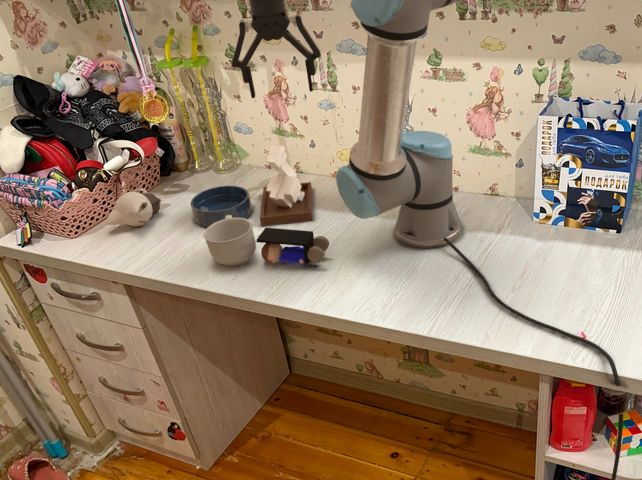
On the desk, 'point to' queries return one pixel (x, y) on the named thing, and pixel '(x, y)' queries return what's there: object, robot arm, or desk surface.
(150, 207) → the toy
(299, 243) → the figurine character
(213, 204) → the bowl
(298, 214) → the tray
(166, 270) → the desk surface
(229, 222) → the teacup
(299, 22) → the robot arm
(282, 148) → the beige irregular angular piece
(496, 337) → the desk surface
